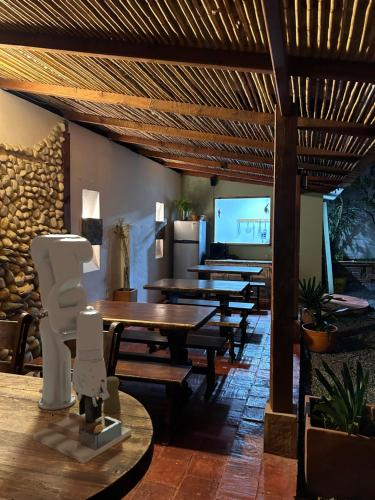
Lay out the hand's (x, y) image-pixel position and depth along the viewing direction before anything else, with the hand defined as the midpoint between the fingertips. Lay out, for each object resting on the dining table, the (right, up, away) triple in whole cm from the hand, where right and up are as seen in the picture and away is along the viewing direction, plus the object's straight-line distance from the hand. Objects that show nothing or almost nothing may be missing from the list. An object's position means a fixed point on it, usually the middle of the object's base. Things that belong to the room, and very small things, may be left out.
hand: (90, 415), depth 113 cm
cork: (+2, -7, +21) cm, 22 cm away
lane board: (-3, -7, +2) cm, 8 cm away
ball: (+3, -4, -2) cm, 6 cm away
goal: (+4, -6, -2) cm, 7 cm away
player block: (0, -6, 0) cm, 6 cm away
